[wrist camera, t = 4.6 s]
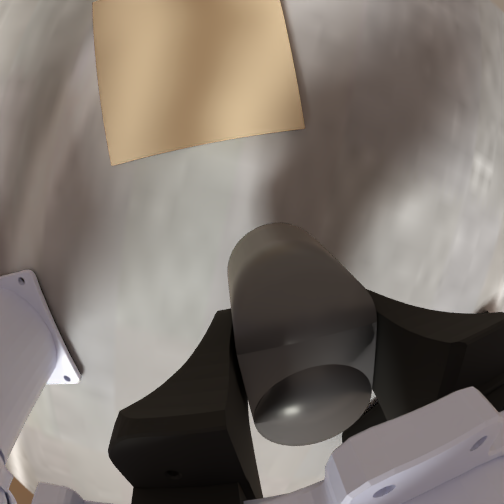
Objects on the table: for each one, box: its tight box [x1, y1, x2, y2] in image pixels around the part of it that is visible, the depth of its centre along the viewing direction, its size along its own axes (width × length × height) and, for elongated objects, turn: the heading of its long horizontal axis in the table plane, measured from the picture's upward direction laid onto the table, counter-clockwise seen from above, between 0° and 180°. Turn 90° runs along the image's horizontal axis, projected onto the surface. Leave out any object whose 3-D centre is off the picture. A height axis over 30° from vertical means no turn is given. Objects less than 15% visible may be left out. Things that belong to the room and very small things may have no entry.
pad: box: [92, 0, 305, 166], centre depth 12 cm, size 9×9×1 cm
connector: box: [228, 223, 377, 446], centre depth 11 cm, size 9×4×5 cm, turn 9°
